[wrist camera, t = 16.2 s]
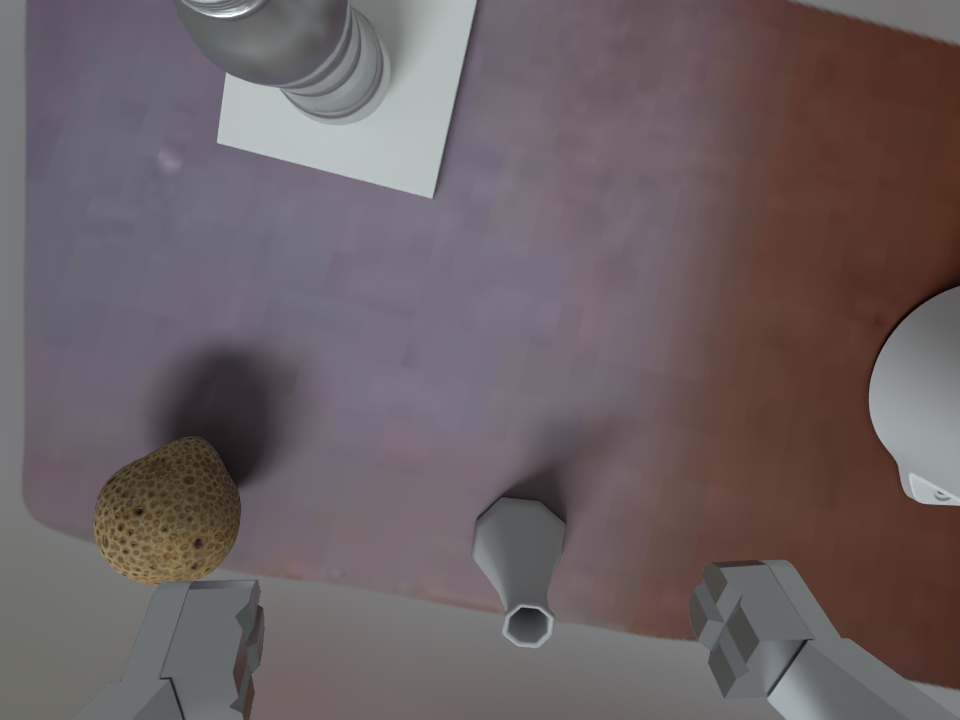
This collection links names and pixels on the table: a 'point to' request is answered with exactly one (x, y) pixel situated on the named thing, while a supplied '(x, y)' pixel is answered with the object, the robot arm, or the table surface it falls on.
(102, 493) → the natural sponge
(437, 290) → the table surface
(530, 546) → the flask
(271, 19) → the plastic bottle
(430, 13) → the bottle pad
